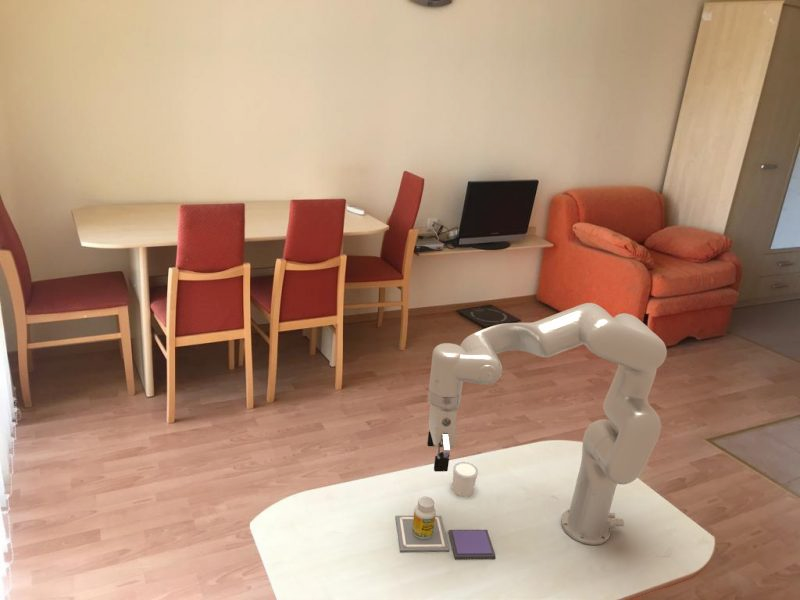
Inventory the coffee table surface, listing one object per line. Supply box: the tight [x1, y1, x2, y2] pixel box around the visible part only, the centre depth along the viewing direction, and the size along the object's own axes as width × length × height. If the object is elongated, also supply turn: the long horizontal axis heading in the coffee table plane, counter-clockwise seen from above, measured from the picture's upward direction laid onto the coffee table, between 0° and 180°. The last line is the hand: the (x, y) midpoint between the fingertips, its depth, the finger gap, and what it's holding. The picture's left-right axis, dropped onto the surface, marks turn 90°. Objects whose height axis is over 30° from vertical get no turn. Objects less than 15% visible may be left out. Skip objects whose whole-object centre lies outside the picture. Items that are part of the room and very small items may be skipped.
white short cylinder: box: [452, 461, 479, 497], centre depth 174 cm, size 7×7×7 cm
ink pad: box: [447, 529, 496, 561], centre depth 156 cm, size 10×9×1 cm
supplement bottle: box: [412, 496, 437, 539], centre depth 156 cm, size 5×5×10 cm
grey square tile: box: [395, 515, 450, 553], centre depth 158 cm, size 12×12×1 cm
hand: (437, 457), depth 151 cm, fingers open, 9 cm apart
